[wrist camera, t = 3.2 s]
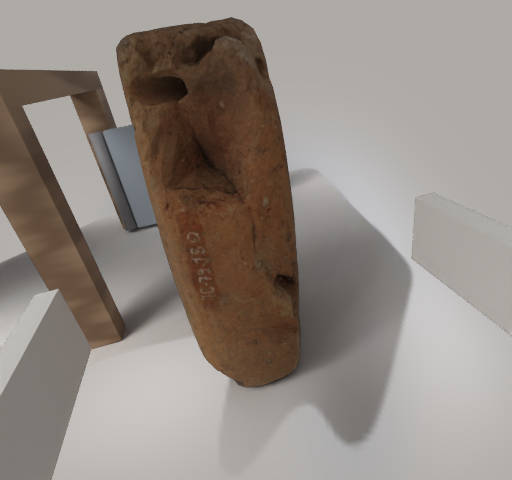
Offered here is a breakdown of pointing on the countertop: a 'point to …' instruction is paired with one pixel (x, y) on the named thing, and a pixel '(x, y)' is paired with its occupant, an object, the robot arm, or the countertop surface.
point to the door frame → (55, 195)
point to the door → (124, 175)
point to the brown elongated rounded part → (219, 189)
